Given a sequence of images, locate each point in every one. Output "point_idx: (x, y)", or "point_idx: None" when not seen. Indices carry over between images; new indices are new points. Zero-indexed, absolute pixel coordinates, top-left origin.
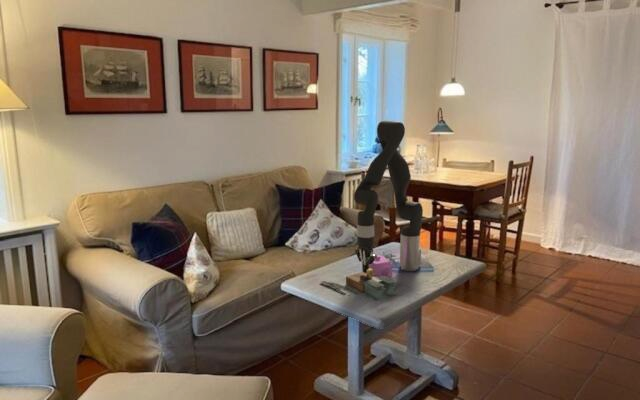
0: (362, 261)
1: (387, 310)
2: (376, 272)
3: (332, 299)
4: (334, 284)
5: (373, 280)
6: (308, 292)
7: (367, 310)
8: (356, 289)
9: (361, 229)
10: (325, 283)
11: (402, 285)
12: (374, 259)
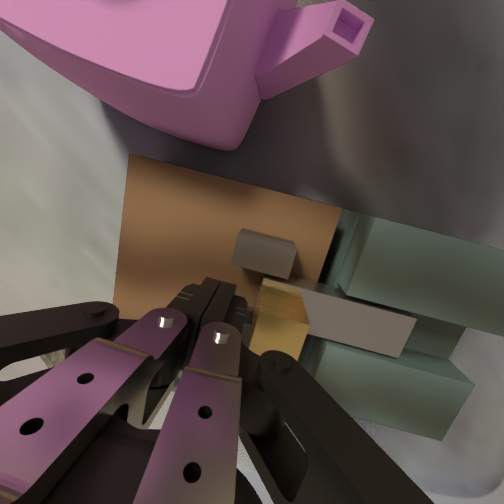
0: (151, 401)
1: (490, 420)
2: (229, 130)
3: None
4: None
5: (352, 357)
6: None
7: (404, 460)
8: None
9: None
10: (64, 357)
11: (425, 69)
12: (406, 495)
